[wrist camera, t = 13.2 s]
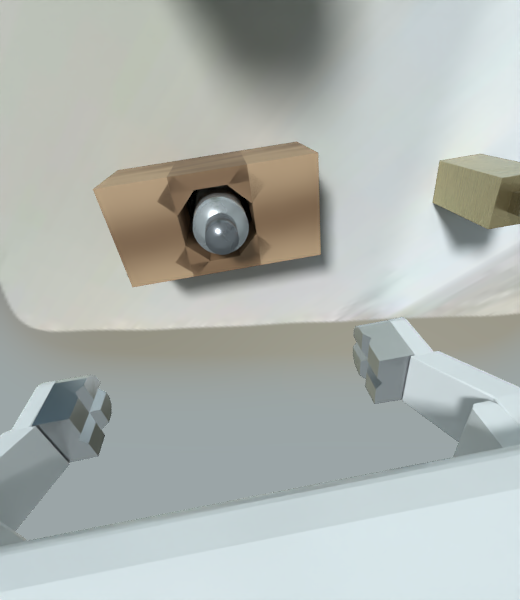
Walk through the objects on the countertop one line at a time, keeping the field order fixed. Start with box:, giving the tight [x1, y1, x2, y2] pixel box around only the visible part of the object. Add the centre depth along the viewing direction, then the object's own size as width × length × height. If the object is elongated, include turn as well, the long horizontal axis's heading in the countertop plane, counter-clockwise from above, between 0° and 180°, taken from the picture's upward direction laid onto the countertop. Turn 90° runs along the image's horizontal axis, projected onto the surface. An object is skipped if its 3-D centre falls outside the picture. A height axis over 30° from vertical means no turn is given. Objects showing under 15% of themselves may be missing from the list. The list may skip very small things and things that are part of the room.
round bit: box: [193, 185, 249, 255], centre depth 23 cm, size 4×4×9 cm
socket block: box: [93, 142, 321, 287], centre depth 24 cm, size 7×14×6 cm, turn 97°
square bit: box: [433, 154, 520, 229], centre depth 24 cm, size 4×4×9 cm
